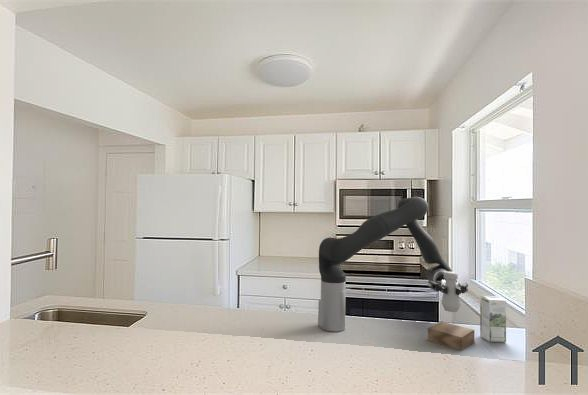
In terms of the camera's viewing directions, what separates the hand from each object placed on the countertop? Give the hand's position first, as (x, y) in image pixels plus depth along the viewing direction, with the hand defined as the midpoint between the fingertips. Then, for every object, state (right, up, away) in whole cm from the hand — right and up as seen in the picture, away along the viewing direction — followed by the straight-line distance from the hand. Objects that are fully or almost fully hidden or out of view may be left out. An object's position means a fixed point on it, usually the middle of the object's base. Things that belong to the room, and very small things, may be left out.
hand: (452, 291), depth 107 cm
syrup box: (+16, -18, +4) cm, 24 cm away
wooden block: (0, -17, +2) cm, 17 cm away
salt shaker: (+1, -7, +2) cm, 8 cm away
